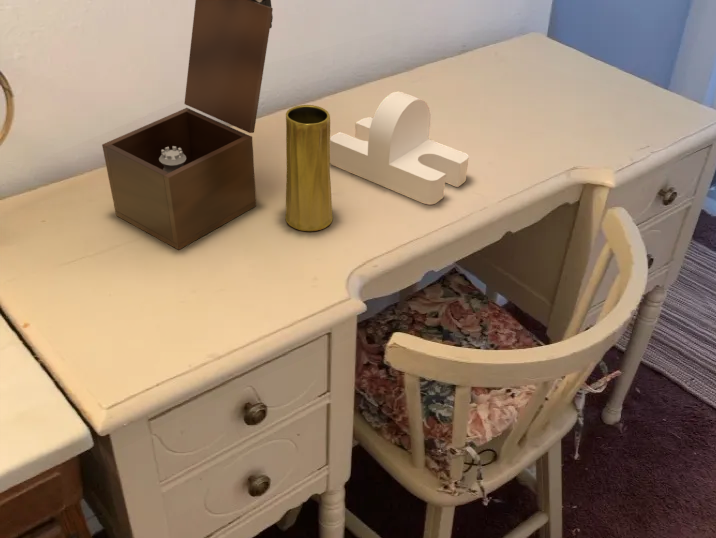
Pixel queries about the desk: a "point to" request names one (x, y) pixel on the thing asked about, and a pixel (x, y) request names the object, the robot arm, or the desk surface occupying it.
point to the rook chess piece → (172, 159)
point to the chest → (181, 177)
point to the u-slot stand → (400, 151)
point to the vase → (308, 168)
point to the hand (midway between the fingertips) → (261, 28)
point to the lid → (228, 59)
